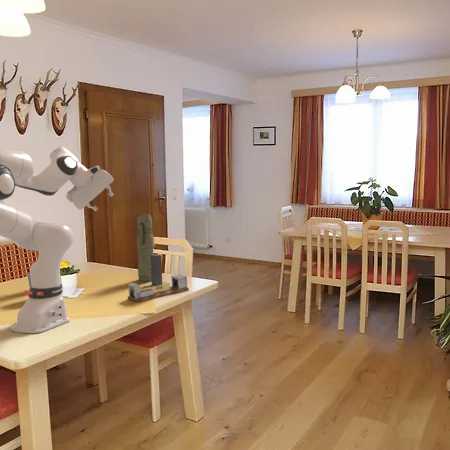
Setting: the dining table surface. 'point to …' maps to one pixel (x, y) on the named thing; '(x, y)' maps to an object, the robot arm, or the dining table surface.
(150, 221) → the grey stone statue
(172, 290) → the rail board
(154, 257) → the blocks on base plate
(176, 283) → the sleeve and socket
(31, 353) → the dining table surface
